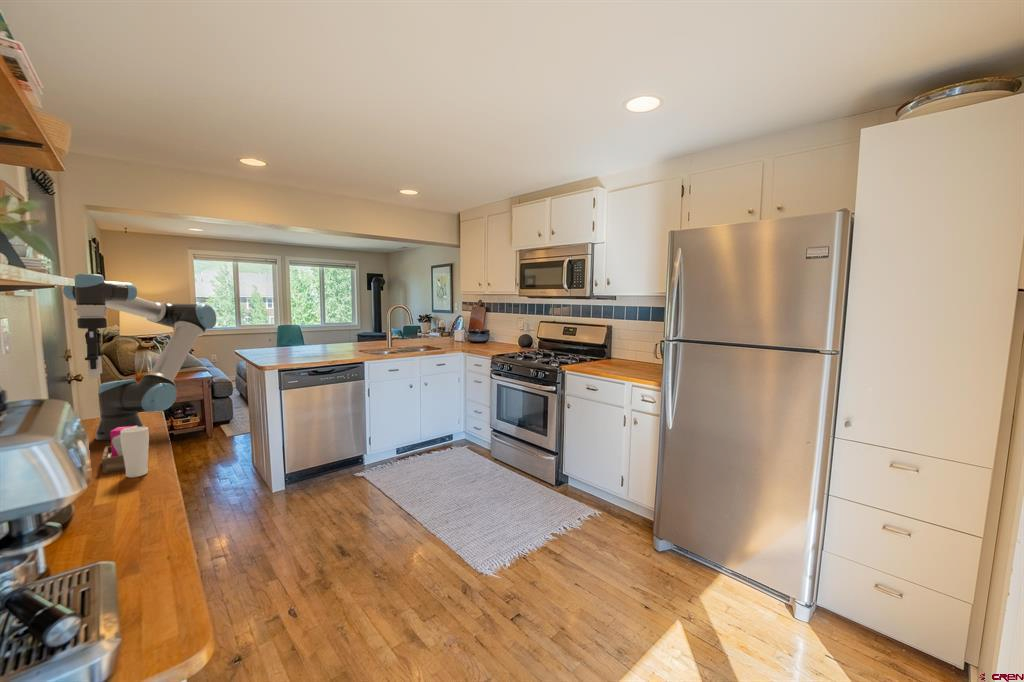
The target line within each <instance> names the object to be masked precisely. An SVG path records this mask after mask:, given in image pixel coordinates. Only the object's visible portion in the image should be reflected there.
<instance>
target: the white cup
mask: <svg viewBox="0 0 1024 682" xmlns="http://www.w3.org/2000/svg"><path fill="white" fill-rule="evenodd" d="M120 439H121V448H122V453H123V459H124V464H125V476H126V477H127V478H129V479H130V478H138V477H143V476H145V475H146V474H148V472H149V468H148V467H149V447H150V435H149V427H147V426H144V427H133V428H127V429H124V430H122V431H120Z"/></svg>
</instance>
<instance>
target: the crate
mask: <svg viewBox="0 0 1024 682" xmlns="http://www.w3.org/2000/svg"><path fill="white" fill-rule="evenodd" d="M101 458H102V459H101V461H102V463H101V464H102V475H107V474H106V473H108V474H112V473H111V472H114V473H119V472H125V471H126V470H125V464H124V459H123V455H122V456H115V457H112V449H111V445H108V446H107V445H106V446H105V447H104V449H103V454H102V457H101ZM124 470H125V471H124ZM118 471H119V472H118Z"/></svg>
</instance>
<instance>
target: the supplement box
mask: <svg viewBox="0 0 1024 682" xmlns="http://www.w3.org/2000/svg"><path fill="white" fill-rule="evenodd" d="M133 427H138V426H126V427H117V428H115V429H114V430H112V431H110V435H111V440H110V446H111V449H112V457H115V456H122V455H123V453H122V448H121V439H120V431H122V430H124V429H127V428H133Z"/></svg>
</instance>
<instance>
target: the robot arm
mask: <svg viewBox="0 0 1024 682" xmlns="http://www.w3.org/2000/svg"><path fill="white" fill-rule="evenodd" d="M74 281H75V286H63V289H62V292H63V295H64V297H66V299H68V300H70V301H72V302H73V301H74V302H76V303H75V304H76V307H74V309H73V310H74V311H76V315H77V317H78V318H77V319H76V321H77V328H78V329H81V330H82V329H86V330H87V331H86V333H85V334H84V338H85V344H86V354H87V355H86V357H84V361H87V369H88V370H87V371H88V379H89V380H91V379H100V377H101V376H100V374H103V363H102V361H103V360H102V356H104V352H102V350H101V349H102V348H101V341H102V339H101V338H102V334H101V332H100V330H99V329H106V328H108V327H107V326H108V323H107V318H105V317H107V308H108V309H112V310H116V311H119V312H123V313H127V314H131V315H135V316H138V317H141V318H145V319H146V320H147V321H149V322H151V323H156V324H158V325H162V326H165V327H168V328H169V327H170V328H172V329H173V328H175V330H174V332H173V333H172V335H171V337H170V339H169V340H168V341H167V344H166V346H165V347H164V349H163V350H162V352H161V354H160V355H159V357H158V359H157V361H156V362H155V364H154V365H153V367H152V369H151V371H150V373H147V374H144V375H143V376H141V377H142V378H141V379H140V380H139V382H138V381H137V379H135V378H129V379H121V380H120V379H119V380H115V381H109V382H107V381H106V382H103V383H101V384H100V385H98V393H97V394H98V395H97V396H98V405H99V414H100V418H99V419H100V420H99V422H98V426H97V429H96V431H95V440H97V441H111V435H110V431H112V430H114V429H115V428H117V427H126V426H138V427H145V426H144V423H143V422H142V420H141V417H140V416H139V412H146V413H149V412H150V413H155V412H163V411H166V410H168V409H169V408H170V407H172V405H174V403H175V402H176V400H177V397H178V394H177V393H178V390H177V388H176V383H175V381H174V380H175V378H176V376H177V375H178V373H179V371H180V370H181V368H182V365H183V364H184V362H185V361H186V358H187V357H188V356H189V353H190V351H191V350H192V348H193V346H194V344H195V342H196V340H197V338H198V337H202V336H203V335H204V334H205V332H206V330H210V329H213V328H214V327H215V326H216V324H217V314H216V312H215V310H214V308H213V307H212V306H211V305H209V304H206V303H167V302H161V301H151V300H148V299H144V298H141V297H138V289H137V287H136V285H135V284H133V283H131V282H127V281H123V280H122V281H117V280H116V281H115V280H113V281H112V280H105V278H104V276H103V274H95V273H77V274H75V275H74Z"/></svg>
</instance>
